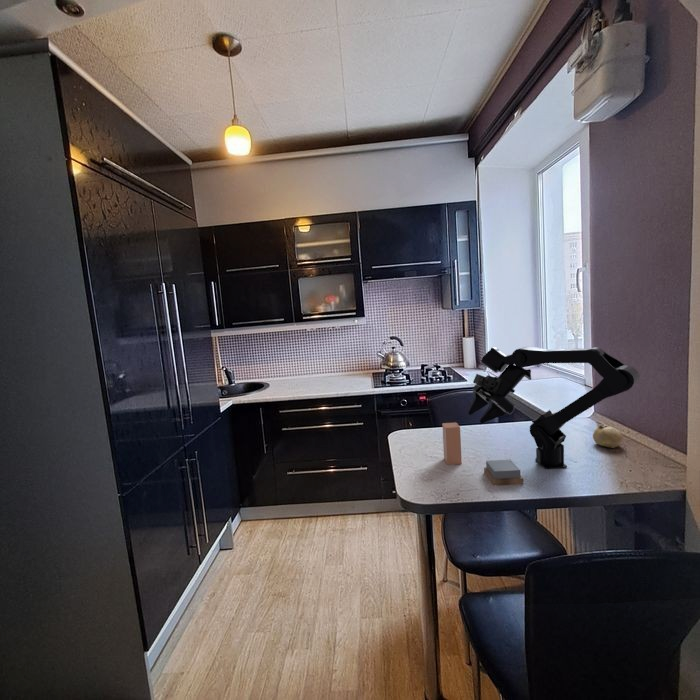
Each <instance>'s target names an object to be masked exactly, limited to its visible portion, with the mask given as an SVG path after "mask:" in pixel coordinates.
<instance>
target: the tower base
mask: <svg viewBox="0 0 700 700" xmlns="http://www.w3.org/2000/svg"><path fill="white" fill-rule="evenodd" d="M483 472H484V474H485V475H486V477H487V478H488V480H489V479H490V480H489V481H490V483H491V484H492V485H493V486H494V485H497V486H509V485H510V486H511V485H523V484H524V478H523V477H522V475H520V478H505V479H494V478H493V476H492V475H491V473H490V472H489V471H488V469H487V468H486V467H483Z"/></svg>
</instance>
